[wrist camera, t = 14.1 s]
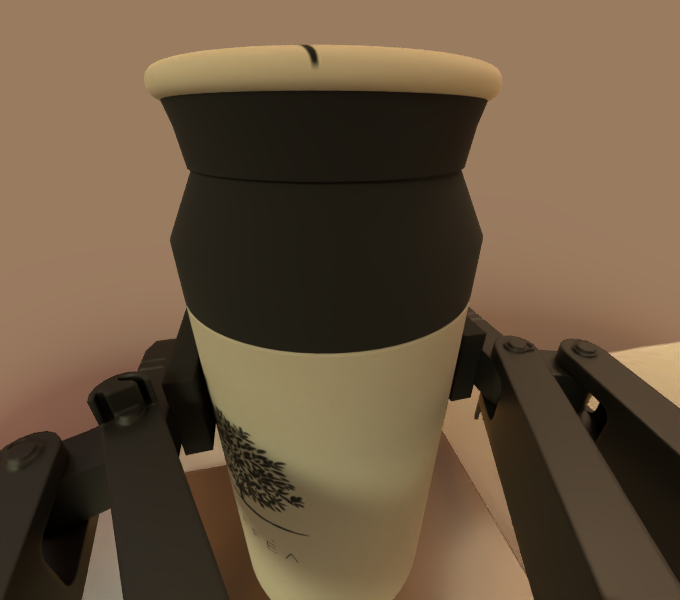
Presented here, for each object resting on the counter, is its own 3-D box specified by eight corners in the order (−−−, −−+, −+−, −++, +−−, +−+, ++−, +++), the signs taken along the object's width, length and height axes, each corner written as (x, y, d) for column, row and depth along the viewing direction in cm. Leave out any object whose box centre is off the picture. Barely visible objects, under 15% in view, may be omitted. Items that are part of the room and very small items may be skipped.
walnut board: (69, 898, 11) (54, 898, 10) (170, 486, 23) (166, 475, 22) (586, 700, 14) (596, 692, 14) (437, 436, 26) (440, 426, 26)
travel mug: (354, 428, 21) (364, 95, 12) (453, 549, 15) (604, 69, 6) (228, 495, 17) (117, 83, 9) (294, 692, 11) (148, -8, 3)
